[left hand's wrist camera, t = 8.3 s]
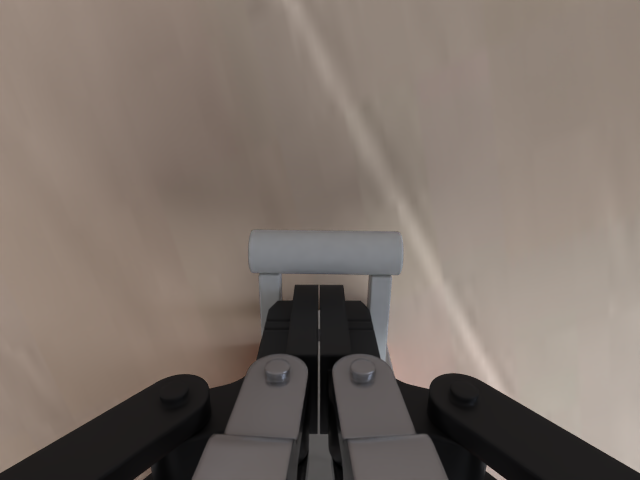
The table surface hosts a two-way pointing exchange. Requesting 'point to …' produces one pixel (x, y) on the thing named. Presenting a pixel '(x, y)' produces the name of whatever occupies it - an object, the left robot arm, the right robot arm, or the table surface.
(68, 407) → the table surface
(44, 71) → the table surface
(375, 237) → the drawer
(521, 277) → the table surface
